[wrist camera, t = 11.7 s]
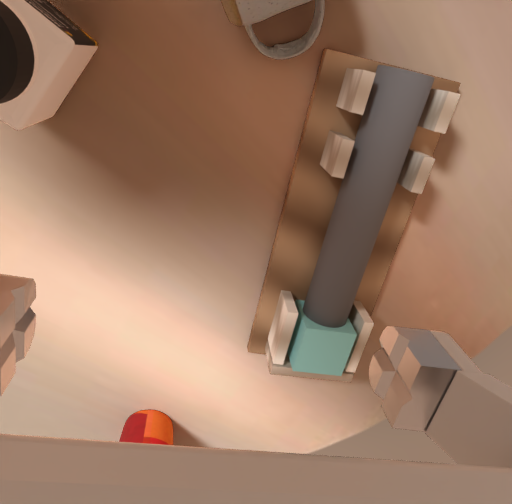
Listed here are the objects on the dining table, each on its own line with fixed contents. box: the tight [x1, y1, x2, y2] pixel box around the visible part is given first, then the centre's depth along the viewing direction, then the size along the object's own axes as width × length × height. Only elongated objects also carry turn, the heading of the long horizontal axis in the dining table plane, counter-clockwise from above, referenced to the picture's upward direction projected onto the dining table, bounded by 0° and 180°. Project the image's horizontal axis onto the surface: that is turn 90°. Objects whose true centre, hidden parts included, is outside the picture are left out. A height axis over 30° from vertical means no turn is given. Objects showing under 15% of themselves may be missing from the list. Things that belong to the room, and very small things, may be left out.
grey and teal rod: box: [287, 65, 435, 376], centre depth 38 cm, size 28×5×5 cm, turn 168°
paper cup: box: [119, 410, 173, 445], centre depth 43 cm, size 8×8×14 cm
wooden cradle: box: [247, 49, 461, 382], centre depth 39 cm, size 30×12×5 cm, turn 168°
